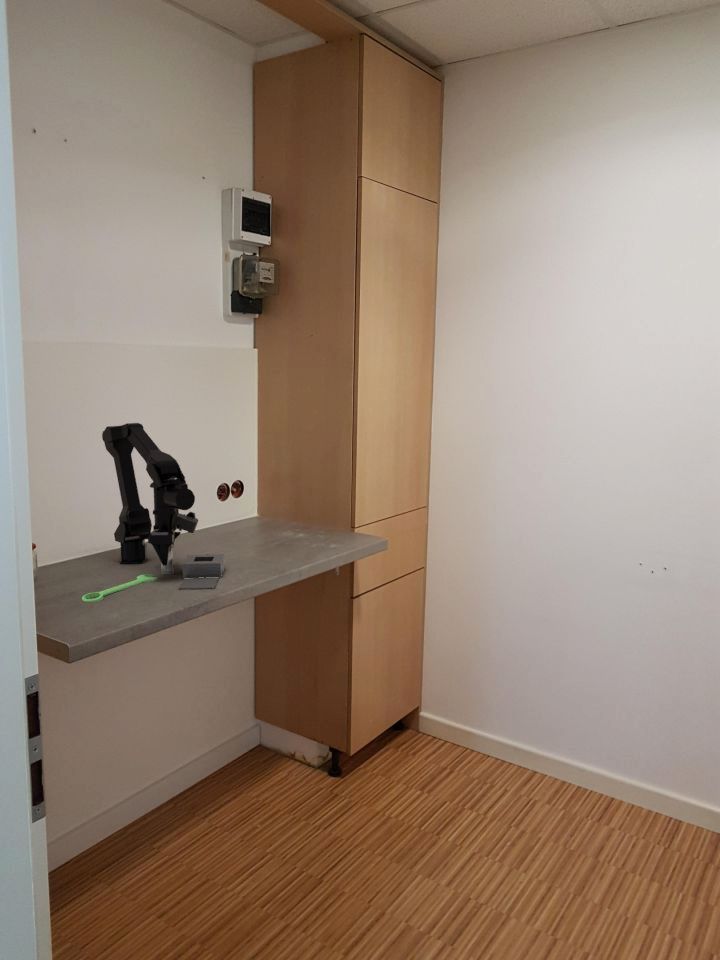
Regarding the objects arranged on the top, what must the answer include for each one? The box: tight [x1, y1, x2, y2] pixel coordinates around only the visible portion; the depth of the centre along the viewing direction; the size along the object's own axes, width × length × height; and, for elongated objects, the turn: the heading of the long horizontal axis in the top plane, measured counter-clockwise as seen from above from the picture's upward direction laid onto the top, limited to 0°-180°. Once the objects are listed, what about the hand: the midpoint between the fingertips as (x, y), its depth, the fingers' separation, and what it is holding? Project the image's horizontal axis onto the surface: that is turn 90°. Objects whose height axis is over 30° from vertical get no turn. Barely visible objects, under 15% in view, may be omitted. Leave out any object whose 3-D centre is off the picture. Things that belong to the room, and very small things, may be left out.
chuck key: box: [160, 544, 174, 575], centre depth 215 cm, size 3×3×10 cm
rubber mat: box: [178, 578, 219, 590], centre depth 204 cm, size 9×9×1 cm
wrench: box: [81, 573, 158, 603], centre depth 201 cm, size 25×2×5 cm
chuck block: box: [181, 553, 226, 579], centre depth 215 cm, size 10×10×4 cm
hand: (167, 562), depth 215 cm, fingers open, 6 cm apart
